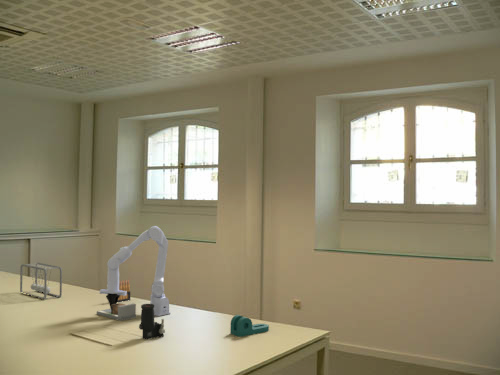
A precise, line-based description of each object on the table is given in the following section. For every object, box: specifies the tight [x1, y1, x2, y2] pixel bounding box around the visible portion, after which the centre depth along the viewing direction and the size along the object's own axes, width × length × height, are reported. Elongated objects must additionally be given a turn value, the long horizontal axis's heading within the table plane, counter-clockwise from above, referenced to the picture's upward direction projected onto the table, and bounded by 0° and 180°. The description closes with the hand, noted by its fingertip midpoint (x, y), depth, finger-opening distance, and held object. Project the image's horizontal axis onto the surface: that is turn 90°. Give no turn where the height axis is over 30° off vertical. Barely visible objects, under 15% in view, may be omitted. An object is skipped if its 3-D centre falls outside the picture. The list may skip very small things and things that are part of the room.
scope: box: [138, 303, 166, 340], centre depth 224 cm, size 8×14×10 cm
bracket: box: [230, 314, 270, 338], centre depth 234 cm, size 18×7×8 cm, turn 128°
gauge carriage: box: [110, 302, 127, 314], centre depth 261 cm, size 5×7×4 cm
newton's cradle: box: [19, 262, 63, 300], centre depth 311 cm, size 30×10×18 cm, turn 49°
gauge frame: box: [96, 303, 137, 322], centre depth 262 cm, size 20×9×6 cm, turn 50°
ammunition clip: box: [117, 278, 131, 303], centre depth 297 cm, size 11×2×12 cm, turn 139°
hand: (112, 309), depth 264 cm, fingers closed
